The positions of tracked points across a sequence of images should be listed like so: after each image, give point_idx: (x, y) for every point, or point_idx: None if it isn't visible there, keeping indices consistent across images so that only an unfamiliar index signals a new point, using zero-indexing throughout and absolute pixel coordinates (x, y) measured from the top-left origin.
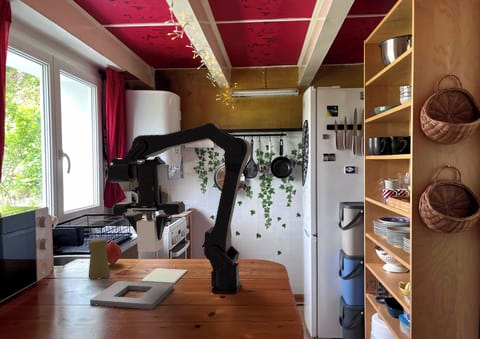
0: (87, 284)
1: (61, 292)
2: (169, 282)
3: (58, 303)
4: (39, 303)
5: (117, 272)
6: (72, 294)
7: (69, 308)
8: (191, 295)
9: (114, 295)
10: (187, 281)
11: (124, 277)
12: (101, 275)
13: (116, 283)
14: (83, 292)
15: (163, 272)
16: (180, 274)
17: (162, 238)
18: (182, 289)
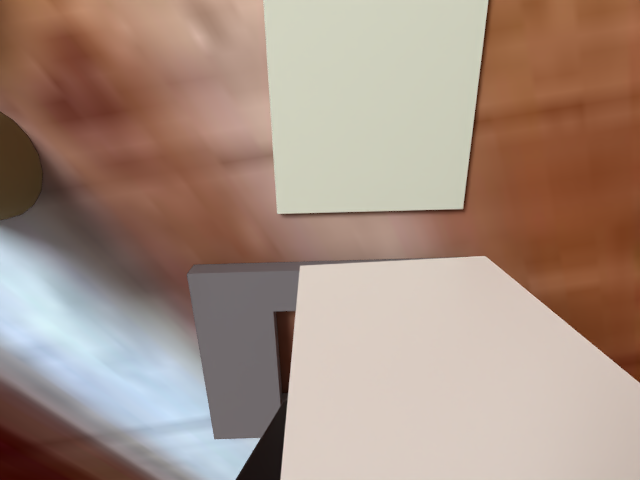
0: (37, 278)
1: (11, 364)
2: (436, 208)
3: (98, 432)
4: (32, 442)
5: (40, 91)
6: (75, 371)
7: (170, 450)
8: (565, 305)
9: (280, 400)
10: (520, 164)
11: (147, 164)
12: (21, 203)
13: (202, 302)
14: (102, 350)
15: (347, 69)
16: (465, 87)
17: (536, 307)
18: (515, 258)
